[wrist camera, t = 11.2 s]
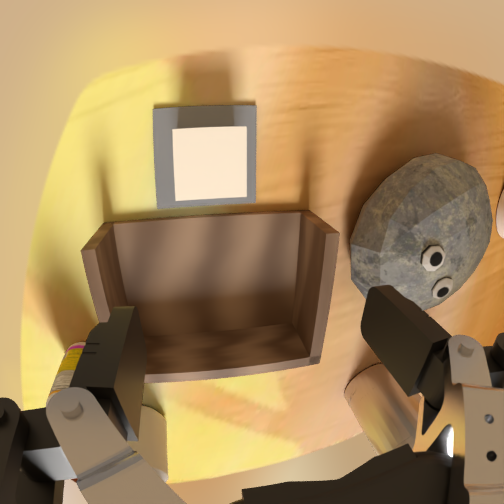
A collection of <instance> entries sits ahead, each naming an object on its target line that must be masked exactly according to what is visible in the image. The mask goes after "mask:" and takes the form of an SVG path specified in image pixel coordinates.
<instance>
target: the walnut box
mask: <svg viewBox="0 0 504 504" xmlns="http://www.w3.org/2000/svg"><path fill="white" fill-rule="evenodd" d="M339 235H340V233H339V232H338V231H336V230H335V229H334V228H333V227H331V226H330V225H329V224H327V223H326V222H324V221H323V220H322V219H320V218H319V217H318V216H316V215H315V214H314V213H312V212H311V211H310V210H300V211H272V212H249V213H229V214H212V215H196V216H181V217H167V218H154V219H142V220H130V221H119V222H108V223H103V224H102V225H101V227H100V228H99V229H98V230H97V231H96V233H95V234H94V235H93V236H92V237H91V239H90V240H89V241H88V242H87V244H86V245H85V246H84V247H83V248H82V250H81V254H82V258H83V263H84V267H85V272H86V276H87V280H88V284H89V288H90V292H91V295H92V299H93V303H94V306H95V310H96V313H97V316H98V320H99V323H100V322H108V320H109V317H110V314H111V312H112V309H113V307H124V306H136V307H137V309H138V312H139V317H140V322H141V326H142V331H143V335H144V339H145V344H146V350H147V364H146V372H145V380H144V383H160V382H180V381H195V380H207V379H218V378H228V377H237V376H245V375H253V374H260V373H267V372H274V371H280V370H286V369H292V368H298V367H303V366H309V365H314V364H319V363H320V358H321V353H322V348H323V342H324V337H325V332H326V326H327V320H328V314H329V308H330V302H331V296H332V289H333V282H334V275H335V268H336V260H337V252H338V244H339Z"/></svg>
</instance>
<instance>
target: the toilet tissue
mask: <svg viewBox="0 0 504 504" xmlns="http://www.w3.org/2000/svg"><path fill="white" fill-rule="evenodd" d="M496 226H497V231H498V234H499V235H500V236H501V237H502V238H504V190H503V192H502V194H501V197H500V200H499V203H498V208H497V215H496Z"/></svg>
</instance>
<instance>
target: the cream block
mask: <svg viewBox="0 0 504 504" xmlns="http://www.w3.org/2000/svg"><path fill="white" fill-rule="evenodd" d="M172 133H173V163H174V183H175V199H176V201H184V200H198V199H215V198H234V197H247V126H239V127H202V128H183V129H172Z"/></svg>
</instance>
